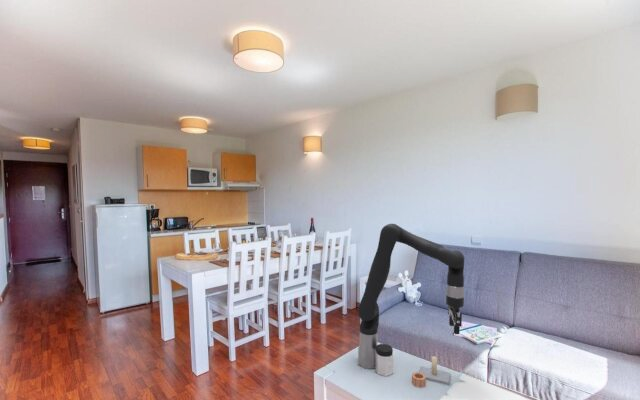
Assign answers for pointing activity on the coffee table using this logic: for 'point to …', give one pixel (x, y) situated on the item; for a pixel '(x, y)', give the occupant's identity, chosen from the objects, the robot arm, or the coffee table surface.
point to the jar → (384, 359)
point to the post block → (435, 373)
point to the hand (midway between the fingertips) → (454, 329)
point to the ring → (418, 379)
